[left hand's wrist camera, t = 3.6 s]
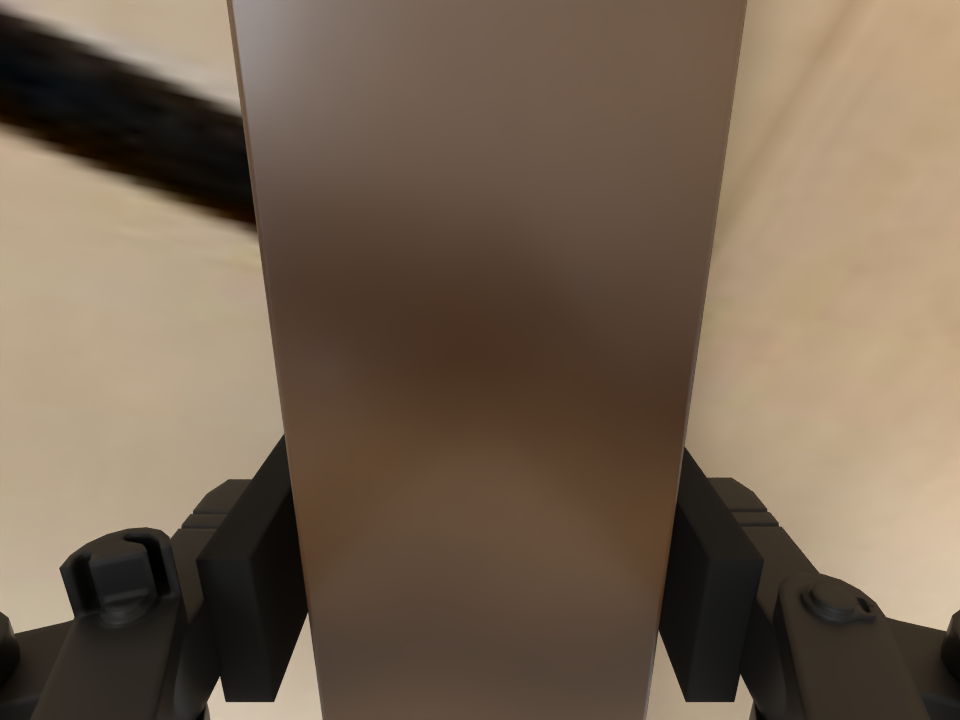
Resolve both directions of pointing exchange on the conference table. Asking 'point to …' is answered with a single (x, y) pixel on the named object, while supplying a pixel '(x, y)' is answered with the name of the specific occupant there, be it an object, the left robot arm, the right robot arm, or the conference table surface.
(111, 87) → the conference table surface
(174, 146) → the conference table surface
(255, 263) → the conference table surface
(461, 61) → the beam
